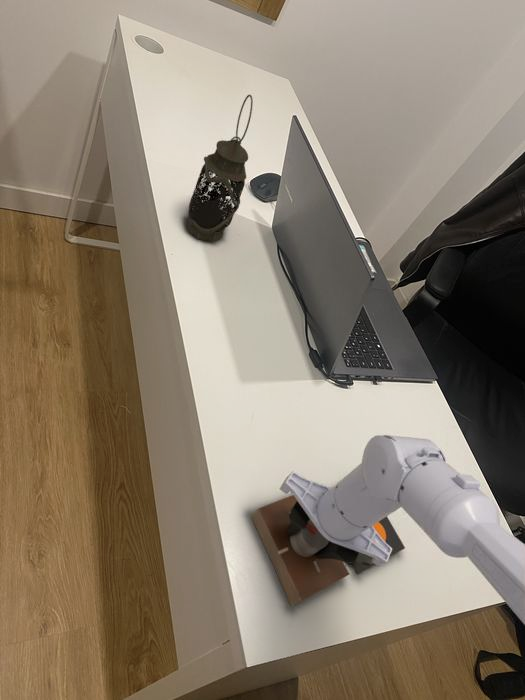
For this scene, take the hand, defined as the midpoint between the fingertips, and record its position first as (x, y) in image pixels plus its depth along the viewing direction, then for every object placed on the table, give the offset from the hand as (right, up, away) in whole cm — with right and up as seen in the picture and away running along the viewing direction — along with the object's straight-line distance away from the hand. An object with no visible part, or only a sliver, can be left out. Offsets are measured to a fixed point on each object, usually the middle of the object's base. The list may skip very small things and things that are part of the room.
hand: (305, 540), depth 64 cm
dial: (0, 0, 0) cm, 0 cm away
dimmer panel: (-1, -2, +3) cm, 3 cm away
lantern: (-17, +49, +36) cm, 63 cm away
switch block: (+8, -1, +8) cm, 12 cm away
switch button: (+9, -1, +3) cm, 9 cm away
